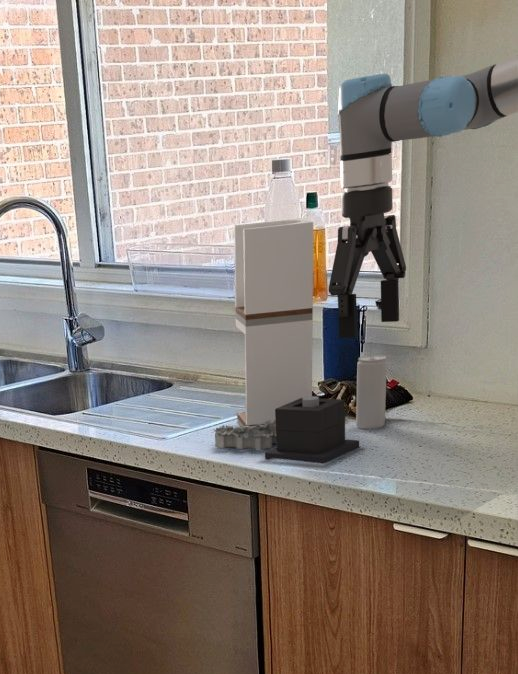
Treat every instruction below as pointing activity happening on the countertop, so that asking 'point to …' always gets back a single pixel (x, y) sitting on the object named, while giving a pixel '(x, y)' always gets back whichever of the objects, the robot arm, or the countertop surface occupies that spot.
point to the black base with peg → (309, 457)
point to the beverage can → (371, 392)
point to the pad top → (310, 415)
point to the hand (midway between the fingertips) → (369, 329)
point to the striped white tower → (274, 313)
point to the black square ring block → (310, 440)
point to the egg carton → (247, 436)
